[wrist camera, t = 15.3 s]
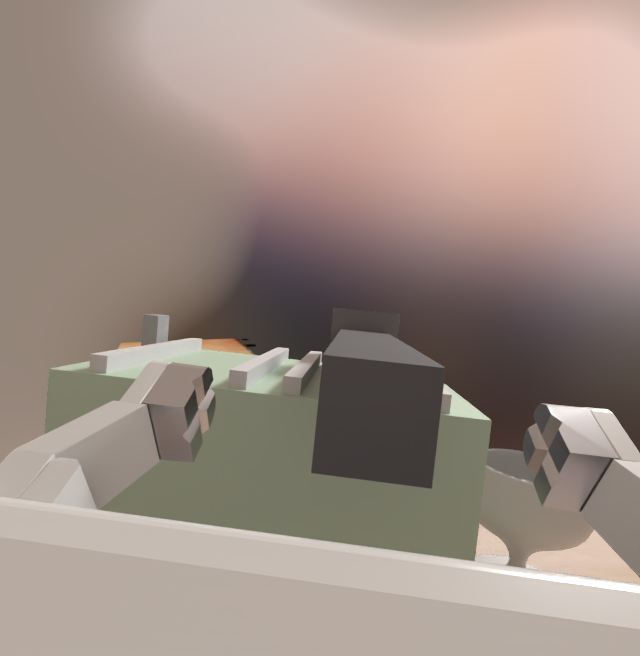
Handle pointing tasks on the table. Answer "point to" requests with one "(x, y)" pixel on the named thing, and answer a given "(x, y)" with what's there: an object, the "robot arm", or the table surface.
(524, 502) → the chalice
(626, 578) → the table surface
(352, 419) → the dark grey bar
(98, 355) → the pale green box
